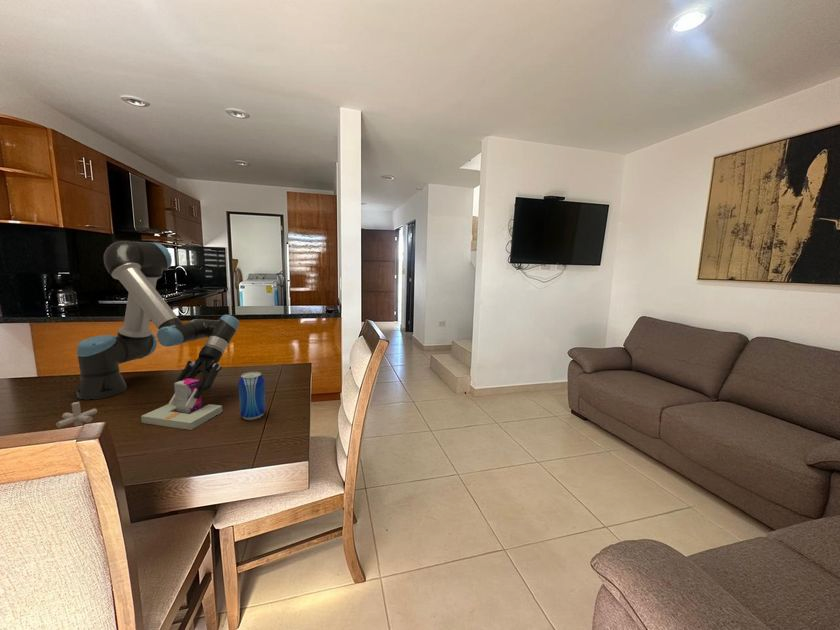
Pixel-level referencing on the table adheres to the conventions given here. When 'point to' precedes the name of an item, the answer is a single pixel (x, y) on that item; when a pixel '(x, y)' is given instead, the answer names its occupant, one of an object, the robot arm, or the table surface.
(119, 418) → the table surface
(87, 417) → the pipe connector
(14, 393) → the table surface
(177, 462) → the table surface
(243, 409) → the beer can
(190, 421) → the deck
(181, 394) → the supplement box
